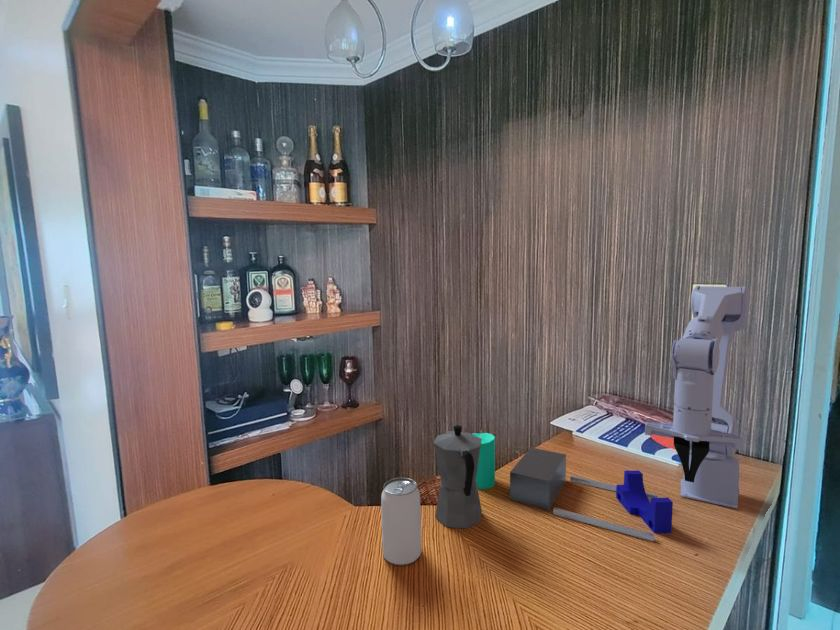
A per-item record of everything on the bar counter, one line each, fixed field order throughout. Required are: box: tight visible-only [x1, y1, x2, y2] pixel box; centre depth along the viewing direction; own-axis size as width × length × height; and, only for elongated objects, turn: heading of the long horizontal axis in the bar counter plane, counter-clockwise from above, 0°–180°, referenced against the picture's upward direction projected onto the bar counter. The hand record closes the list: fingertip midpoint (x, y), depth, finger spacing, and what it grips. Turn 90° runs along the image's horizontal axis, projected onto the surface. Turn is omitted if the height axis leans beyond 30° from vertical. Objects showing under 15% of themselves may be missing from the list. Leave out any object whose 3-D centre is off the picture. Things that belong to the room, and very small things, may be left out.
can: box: [380, 477, 422, 566], centre depth 71 cm, size 6×6×12 cm
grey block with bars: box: [509, 447, 659, 543], centre depth 87 cm, size 28×16×6 cm, turn 59°
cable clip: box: [615, 469, 674, 534], centre depth 82 cm, size 12×4×6 cm, turn 179°
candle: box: [472, 430, 496, 490], centre depth 95 cm, size 6×6×12 cm
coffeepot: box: [433, 424, 483, 530], centre depth 81 cm, size 15×9×18 cm, turn 10°
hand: (689, 479), depth 77 cm, fingers closed
